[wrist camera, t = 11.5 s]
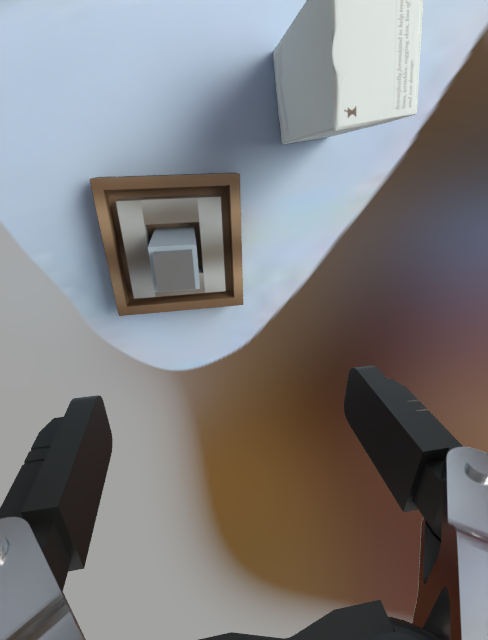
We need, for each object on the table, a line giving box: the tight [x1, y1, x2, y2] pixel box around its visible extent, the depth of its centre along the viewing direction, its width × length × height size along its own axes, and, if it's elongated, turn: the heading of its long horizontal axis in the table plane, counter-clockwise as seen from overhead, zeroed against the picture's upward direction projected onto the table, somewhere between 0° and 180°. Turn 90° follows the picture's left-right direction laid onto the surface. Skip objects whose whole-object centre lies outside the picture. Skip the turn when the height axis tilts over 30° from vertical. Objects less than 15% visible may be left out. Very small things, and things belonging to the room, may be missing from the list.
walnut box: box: [90, 173, 243, 316], centre depth 36 cm, size 14×14×3 cm
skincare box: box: [273, 0, 423, 144], centre depth 26 cm, size 8×6×15 cm
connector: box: [148, 225, 200, 292], centre depth 32 cm, size 4×4×10 cm
